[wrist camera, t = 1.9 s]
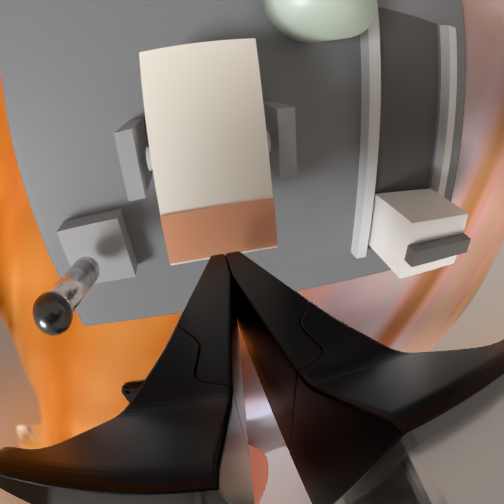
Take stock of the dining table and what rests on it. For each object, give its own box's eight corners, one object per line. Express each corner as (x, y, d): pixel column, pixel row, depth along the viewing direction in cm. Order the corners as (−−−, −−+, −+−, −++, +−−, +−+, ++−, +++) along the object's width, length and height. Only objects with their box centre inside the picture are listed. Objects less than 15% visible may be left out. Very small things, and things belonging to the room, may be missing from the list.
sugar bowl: (165, 465, 34) (173, 529, 25) (166, 425, 27) (176, 516, 18) (249, 461, 37) (265, 521, 29) (279, 421, 31) (304, 500, 22)
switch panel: (420, 243, 20) (460, 281, 16) (90, 303, 17) (75, 363, 13) (438, -8, 10) (496, -10, 6) (17, 6, 7) (-35, -7, 3)
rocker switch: (274, 235, 12) (284, 247, 10) (167, 253, 11) (164, 267, 10) (254, 48, 9) (262, 37, 8) (138, 62, 8) (132, 52, 7)
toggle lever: (113, 278, 12) (66, 348, 9) (85, 276, 12) (38, 340, 9) (101, 246, 11) (45, 315, 8) (73, 246, 12) (18, 308, 8)
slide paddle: (421, 234, 17) (460, 269, 14) (368, 244, 16) (406, 286, 13) (430, 188, 15) (476, 219, 12) (374, 193, 14) (420, 230, 11)
